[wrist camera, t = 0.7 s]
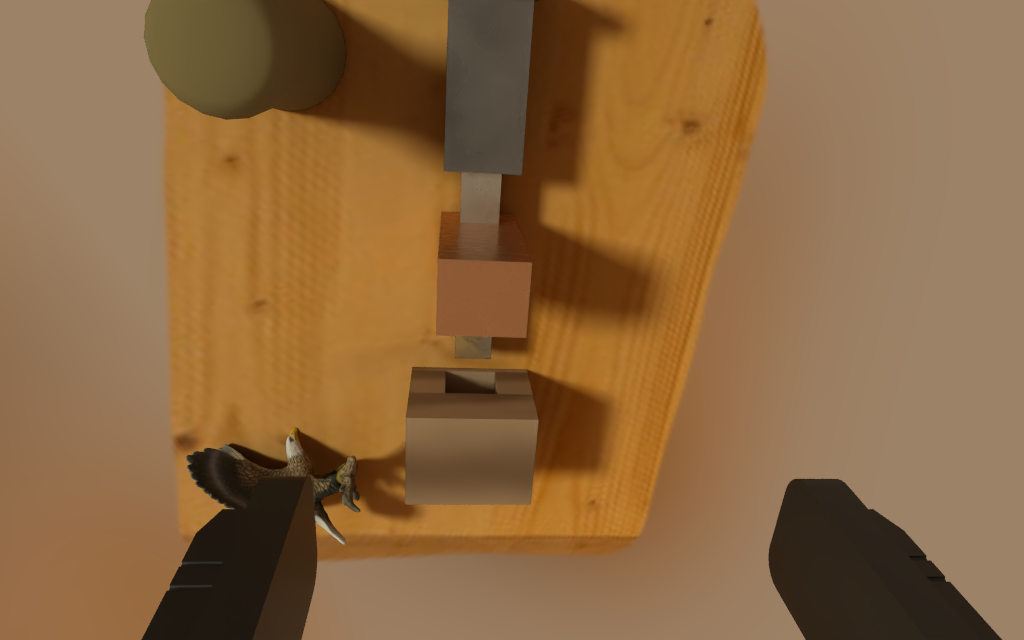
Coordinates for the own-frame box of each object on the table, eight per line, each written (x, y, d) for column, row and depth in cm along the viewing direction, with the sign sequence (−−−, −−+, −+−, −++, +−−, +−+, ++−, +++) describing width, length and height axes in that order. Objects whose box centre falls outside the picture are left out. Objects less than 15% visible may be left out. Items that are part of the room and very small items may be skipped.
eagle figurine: (350, 394, 39) (185, 414, 37) (362, 511, 35) (178, 541, 33) (355, 448, 45) (214, 467, 43) (365, 553, 41) (210, 580, 39)
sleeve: (437, -25, 32) (435, -39, 27) (539, -17, 32) (553, -29, 28) (433, 158, 35) (430, 174, 31) (525, 163, 36) (536, 179, 31)
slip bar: (447, 4, 32) (444, -14, 24) (528, 11, 32) (553, -4, 24) (438, 340, 39) (433, 419, 30) (505, 342, 39) (519, 420, 31)
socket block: (412, 367, 40) (405, 417, 34) (526, 369, 40) (538, 419, 35) (411, 444, 42) (405, 504, 36) (520, 445, 42) (530, 504, 37)
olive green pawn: (324, -34, 31) (262, -75, 21) (361, 96, 34) (322, 114, 24) (201, -5, 31) (81, -33, 21) (247, 123, 34) (159, 152, 24)
